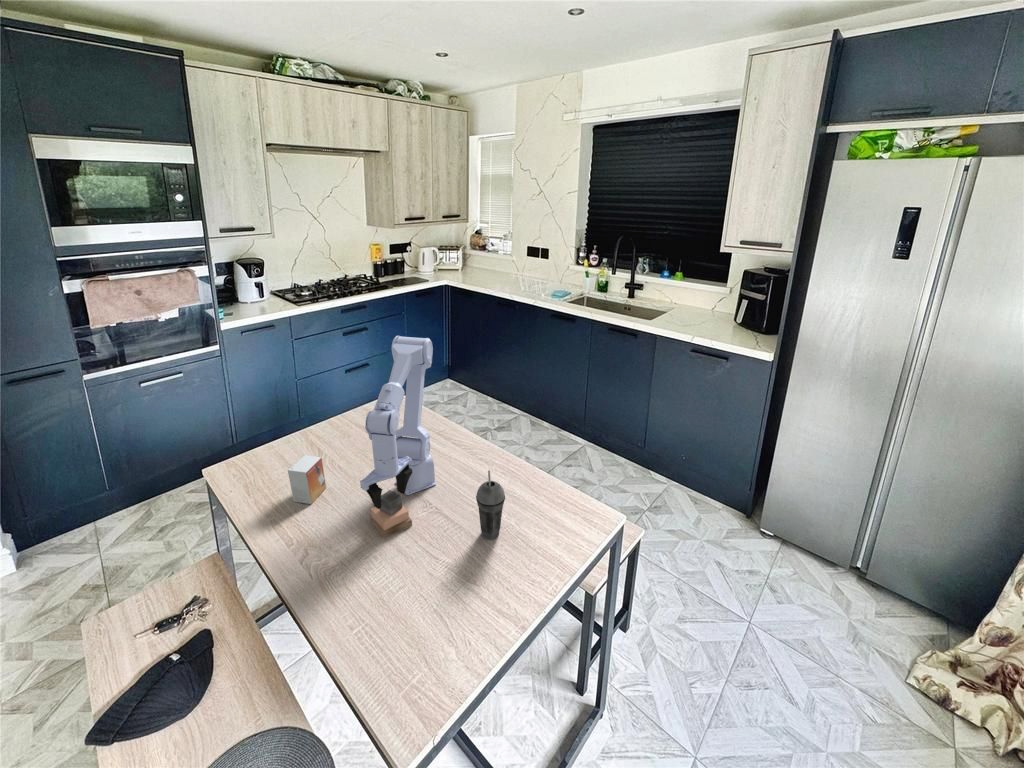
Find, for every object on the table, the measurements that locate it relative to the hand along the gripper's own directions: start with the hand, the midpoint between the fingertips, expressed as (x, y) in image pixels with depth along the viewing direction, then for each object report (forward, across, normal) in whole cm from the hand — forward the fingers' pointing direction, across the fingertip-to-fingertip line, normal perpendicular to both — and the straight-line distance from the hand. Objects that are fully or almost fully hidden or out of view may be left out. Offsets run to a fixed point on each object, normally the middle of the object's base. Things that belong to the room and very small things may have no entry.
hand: (389, 499), depth 127 cm
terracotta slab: (+6, 0, 0) cm, 6 cm away
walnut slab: (+8, 0, 0) cm, 8 cm away
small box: (+8, +7, -27) cm, 29 cm away
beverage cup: (+8, -14, +22) cm, 27 cm away
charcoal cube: (+3, 0, 0) cm, 3 cm away
